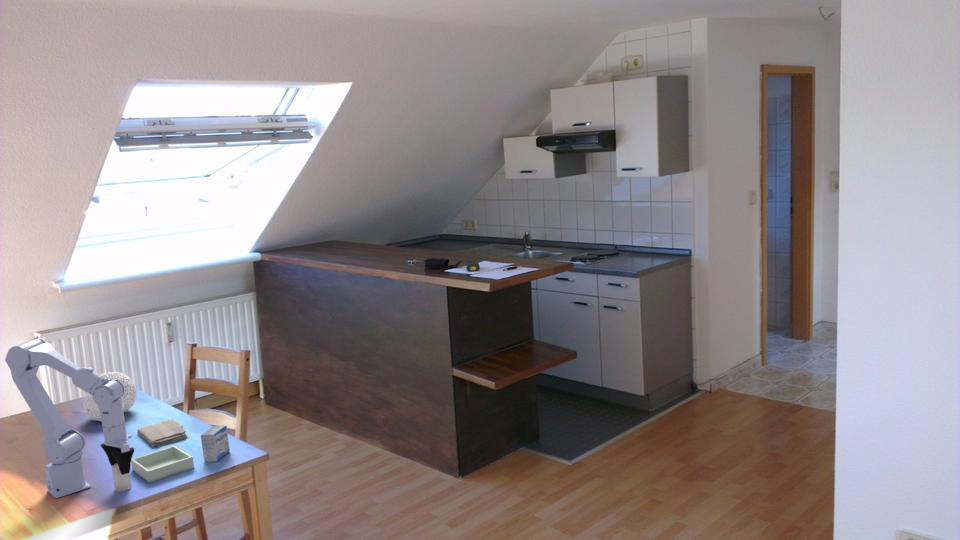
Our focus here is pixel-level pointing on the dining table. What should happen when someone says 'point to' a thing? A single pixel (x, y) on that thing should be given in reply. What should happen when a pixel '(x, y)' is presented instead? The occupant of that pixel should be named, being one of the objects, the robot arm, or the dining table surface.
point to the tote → (162, 464)
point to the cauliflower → (127, 398)
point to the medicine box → (215, 443)
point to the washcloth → (163, 433)
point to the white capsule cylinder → (120, 479)
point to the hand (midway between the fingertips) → (120, 469)
